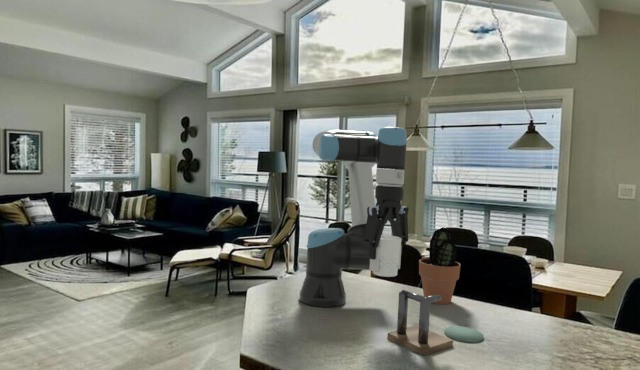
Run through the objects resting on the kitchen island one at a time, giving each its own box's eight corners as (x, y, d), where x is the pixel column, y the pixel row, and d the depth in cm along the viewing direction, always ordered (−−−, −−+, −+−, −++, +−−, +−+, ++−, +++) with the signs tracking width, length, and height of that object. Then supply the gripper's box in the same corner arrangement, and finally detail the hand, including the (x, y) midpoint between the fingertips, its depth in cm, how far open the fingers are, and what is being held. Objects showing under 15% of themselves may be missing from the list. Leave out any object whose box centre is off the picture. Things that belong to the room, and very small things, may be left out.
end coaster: (436, 332, 119) (436, 330, 119) (458, 325, 125) (458, 323, 125) (468, 345, 111) (469, 343, 111) (490, 337, 117) (490, 335, 117)
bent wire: (394, 332, 113) (397, 289, 113) (412, 327, 118) (415, 286, 117) (423, 345, 106) (426, 299, 106) (441, 339, 110) (444, 295, 110)
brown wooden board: (387, 338, 113) (387, 332, 113) (415, 330, 120) (415, 325, 120) (424, 355, 104) (424, 349, 104) (452, 346, 110) (452, 340, 110)
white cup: (399, 278, 114) (401, 240, 113) (368, 275, 115) (371, 238, 115) (399, 272, 121) (401, 236, 121) (371, 269, 123) (373, 234, 123)
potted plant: (408, 298, 150) (413, 226, 149) (431, 292, 159) (435, 223, 158) (444, 309, 140) (448, 231, 139) (466, 302, 149) (470, 229, 148)
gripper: (372, 185, 108) (367, 277, 109) (425, 186, 121) (420, 268, 122) (351, 183, 114) (347, 270, 115) (404, 184, 126) (400, 262, 128)
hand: (385, 269), depth 118 cm, fingers closed on white cup, 8 cm apart
